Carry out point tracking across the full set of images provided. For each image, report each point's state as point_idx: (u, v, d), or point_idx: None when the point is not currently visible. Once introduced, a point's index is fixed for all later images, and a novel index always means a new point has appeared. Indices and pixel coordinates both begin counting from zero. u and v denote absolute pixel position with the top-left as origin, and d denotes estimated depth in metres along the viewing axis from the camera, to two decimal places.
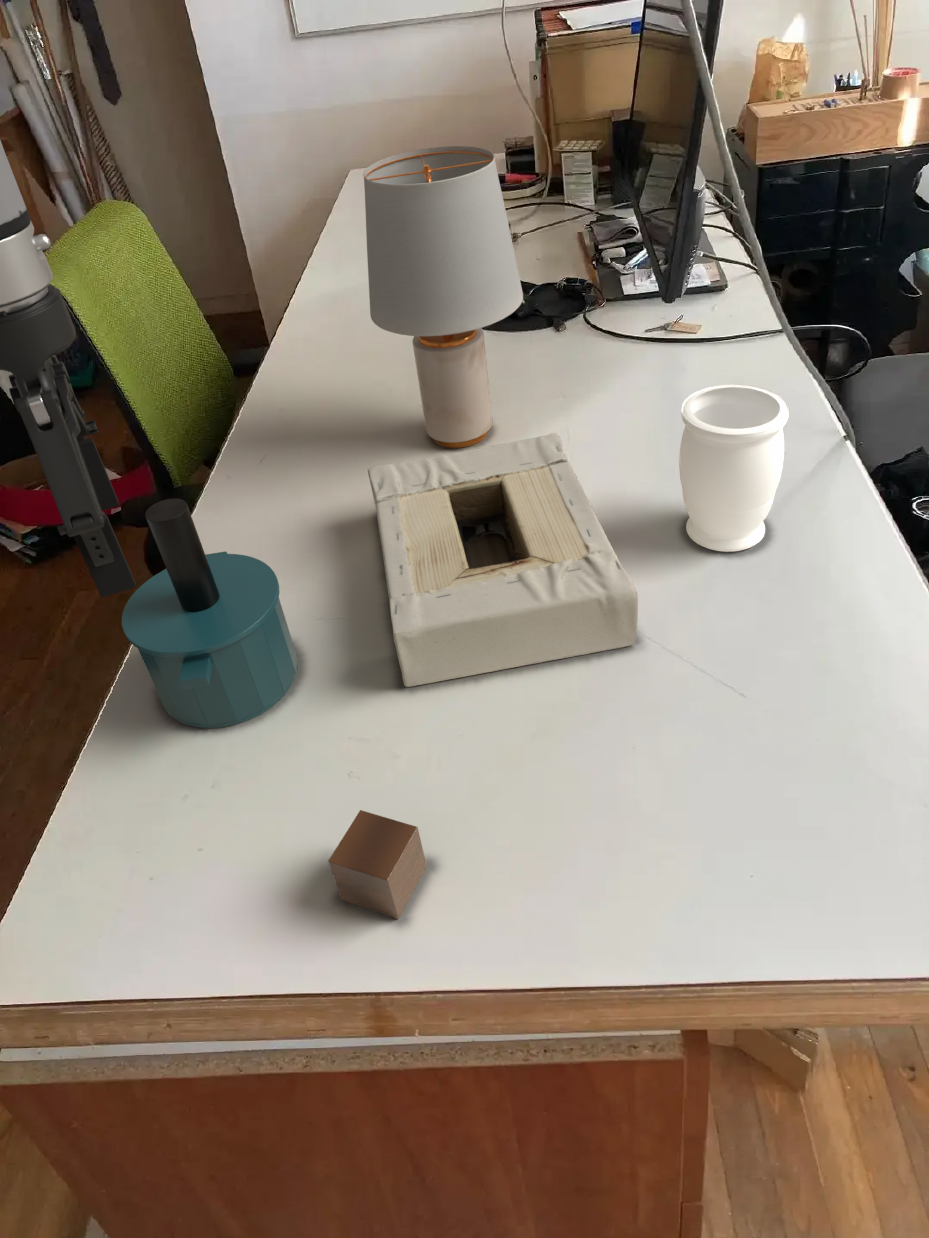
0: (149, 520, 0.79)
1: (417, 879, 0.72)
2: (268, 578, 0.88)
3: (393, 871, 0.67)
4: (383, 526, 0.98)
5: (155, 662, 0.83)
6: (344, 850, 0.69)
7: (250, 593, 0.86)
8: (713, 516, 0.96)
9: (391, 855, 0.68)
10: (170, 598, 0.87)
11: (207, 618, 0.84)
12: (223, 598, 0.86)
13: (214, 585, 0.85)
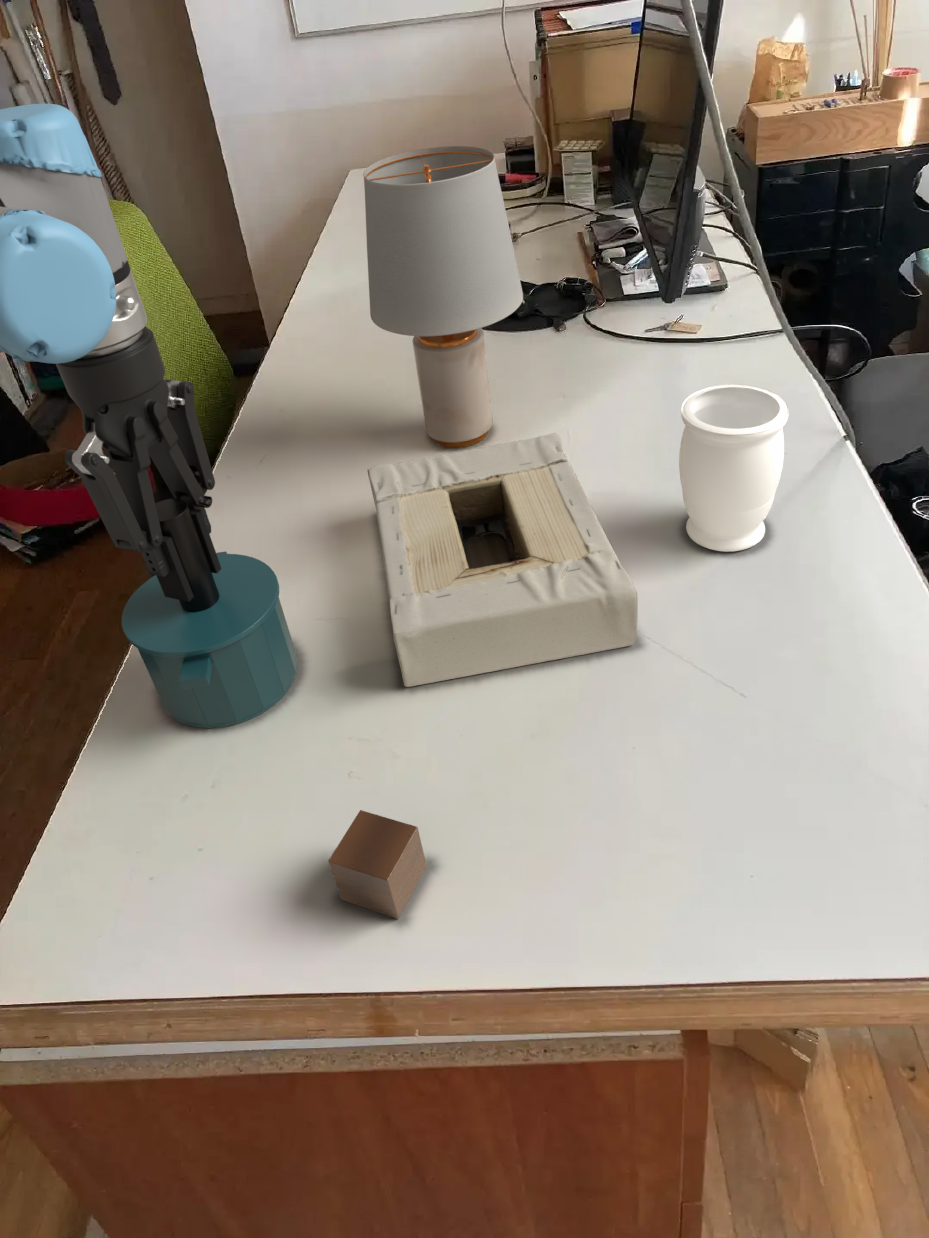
0: None
1: (417, 879, 0.72)
2: (268, 578, 0.88)
3: (393, 871, 0.67)
4: (383, 526, 0.98)
5: (155, 662, 0.83)
6: (344, 850, 0.69)
7: (250, 593, 0.86)
8: (713, 516, 0.96)
9: (391, 855, 0.68)
10: (170, 598, 0.87)
11: (207, 618, 0.84)
12: (223, 598, 0.86)
13: (214, 585, 0.85)
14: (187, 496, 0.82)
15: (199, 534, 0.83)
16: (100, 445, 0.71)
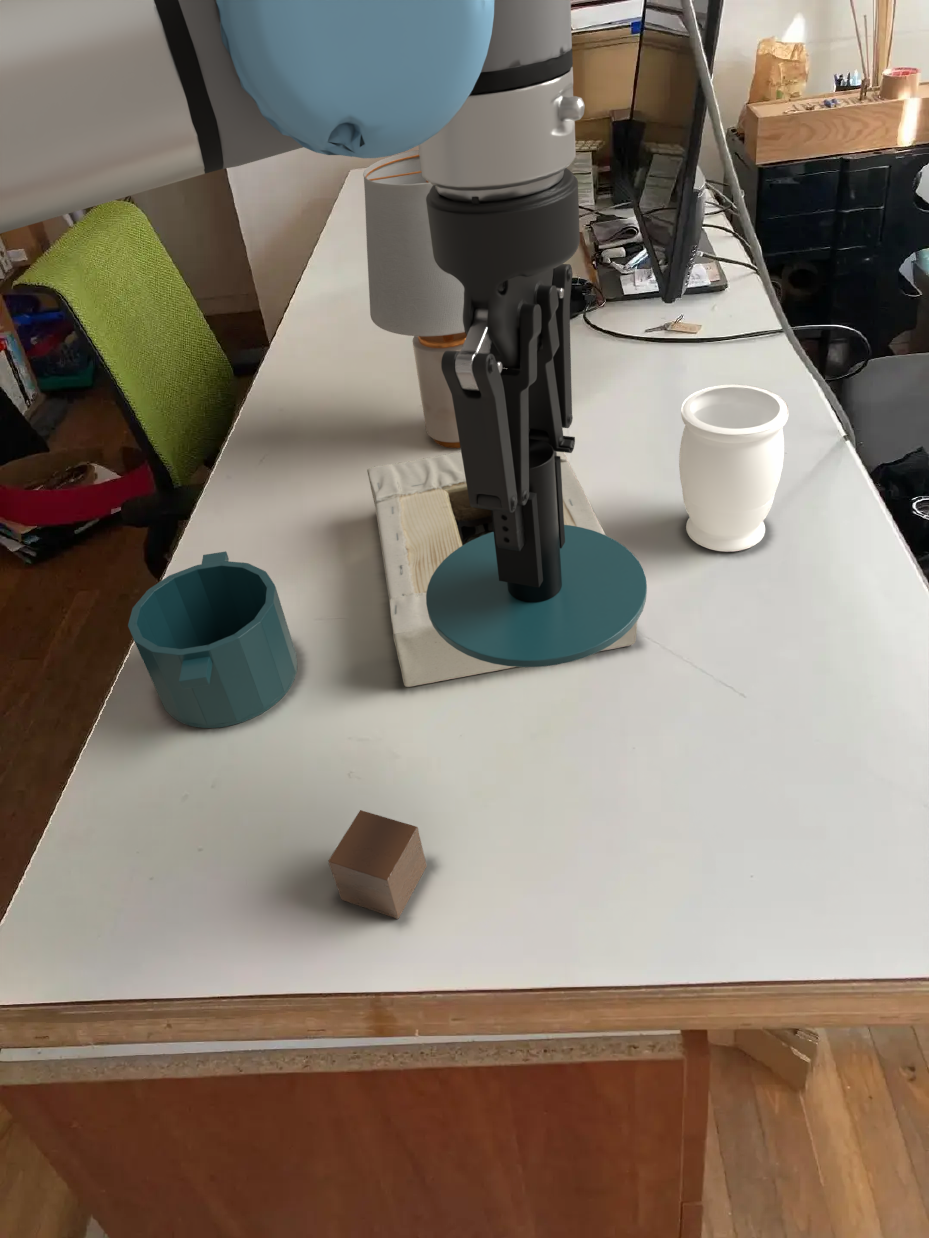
0: None
1: (417, 879, 0.72)
2: (621, 556, 0.63)
3: (393, 871, 0.67)
4: (382, 526, 0.98)
5: (155, 662, 0.83)
6: (344, 850, 0.69)
7: (605, 576, 0.61)
8: (713, 516, 0.96)
9: (391, 855, 0.68)
10: (489, 584, 0.62)
11: (557, 610, 0.59)
12: (569, 583, 0.61)
13: None
14: (541, 436, 0.57)
15: None
16: (489, 344, 0.47)
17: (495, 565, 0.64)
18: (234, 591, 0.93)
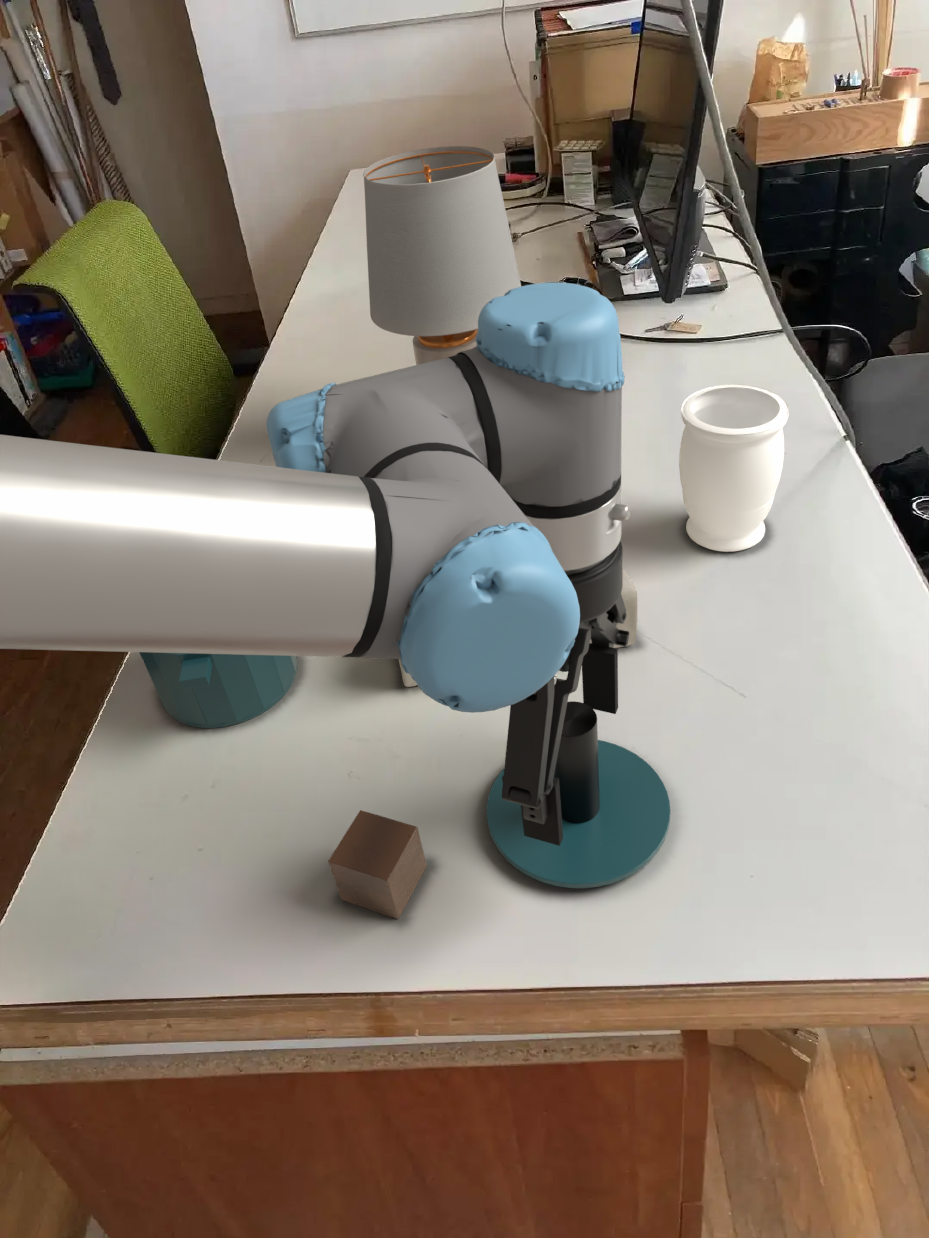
0: None
1: (417, 879, 0.72)
2: (649, 776, 0.76)
3: (393, 871, 0.67)
4: None
5: (155, 662, 0.83)
6: (344, 850, 0.69)
7: (635, 798, 0.74)
8: (713, 516, 0.96)
9: (391, 855, 0.68)
10: None
11: (597, 832, 0.72)
12: (606, 804, 0.74)
13: None
14: None
15: (609, 674, 0.73)
16: None
17: None
18: None
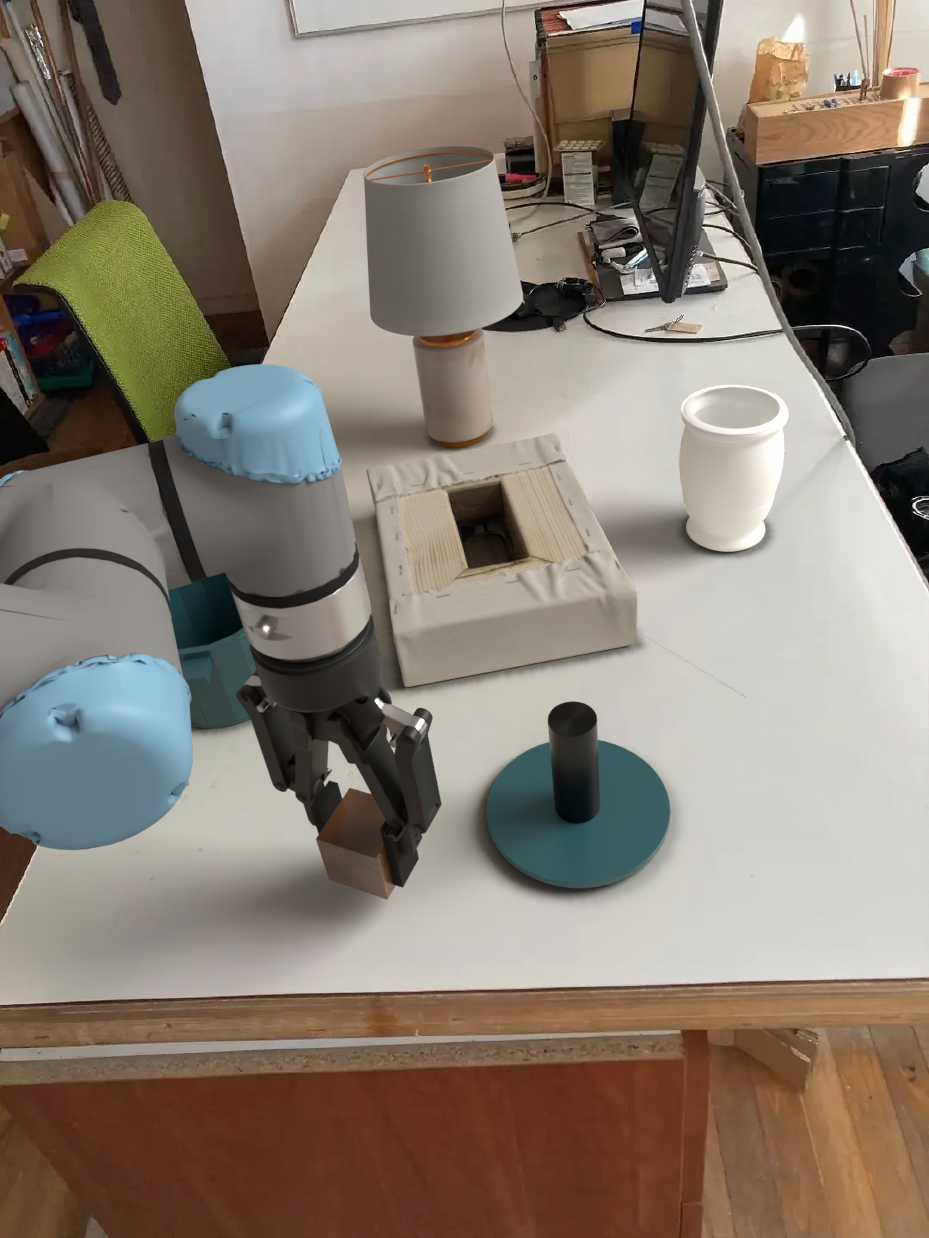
0: (558, 733, 0.67)
1: None
2: (649, 776, 0.76)
3: (382, 849, 0.65)
4: (382, 526, 0.98)
5: None
6: (333, 828, 0.67)
7: (635, 798, 0.74)
8: (713, 516, 0.96)
9: (380, 833, 0.66)
10: (538, 801, 0.75)
11: (597, 832, 0.72)
12: (606, 804, 0.74)
13: None
14: None
15: None
16: None
17: (543, 782, 0.77)
18: None
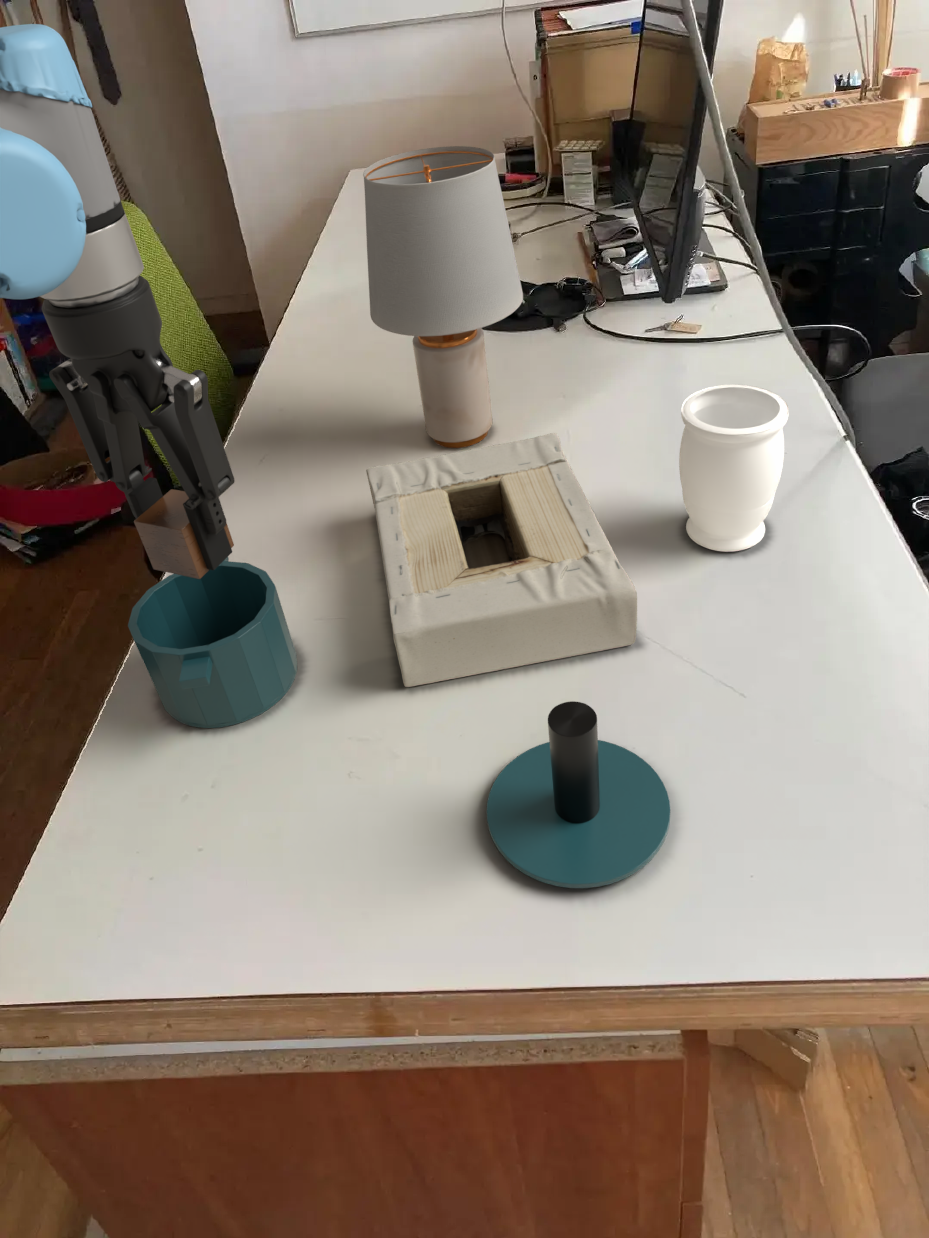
0: (558, 733, 0.67)
1: None
2: (649, 776, 0.76)
3: (188, 525, 0.75)
4: (382, 526, 0.98)
5: (155, 662, 0.83)
6: (150, 514, 0.77)
7: (635, 798, 0.74)
8: (713, 516, 0.96)
9: None
10: (538, 801, 0.75)
11: (597, 832, 0.72)
12: (606, 804, 0.74)
13: None
14: None
15: None
16: (78, 373, 0.71)
17: (543, 782, 0.77)
18: (234, 591, 0.93)
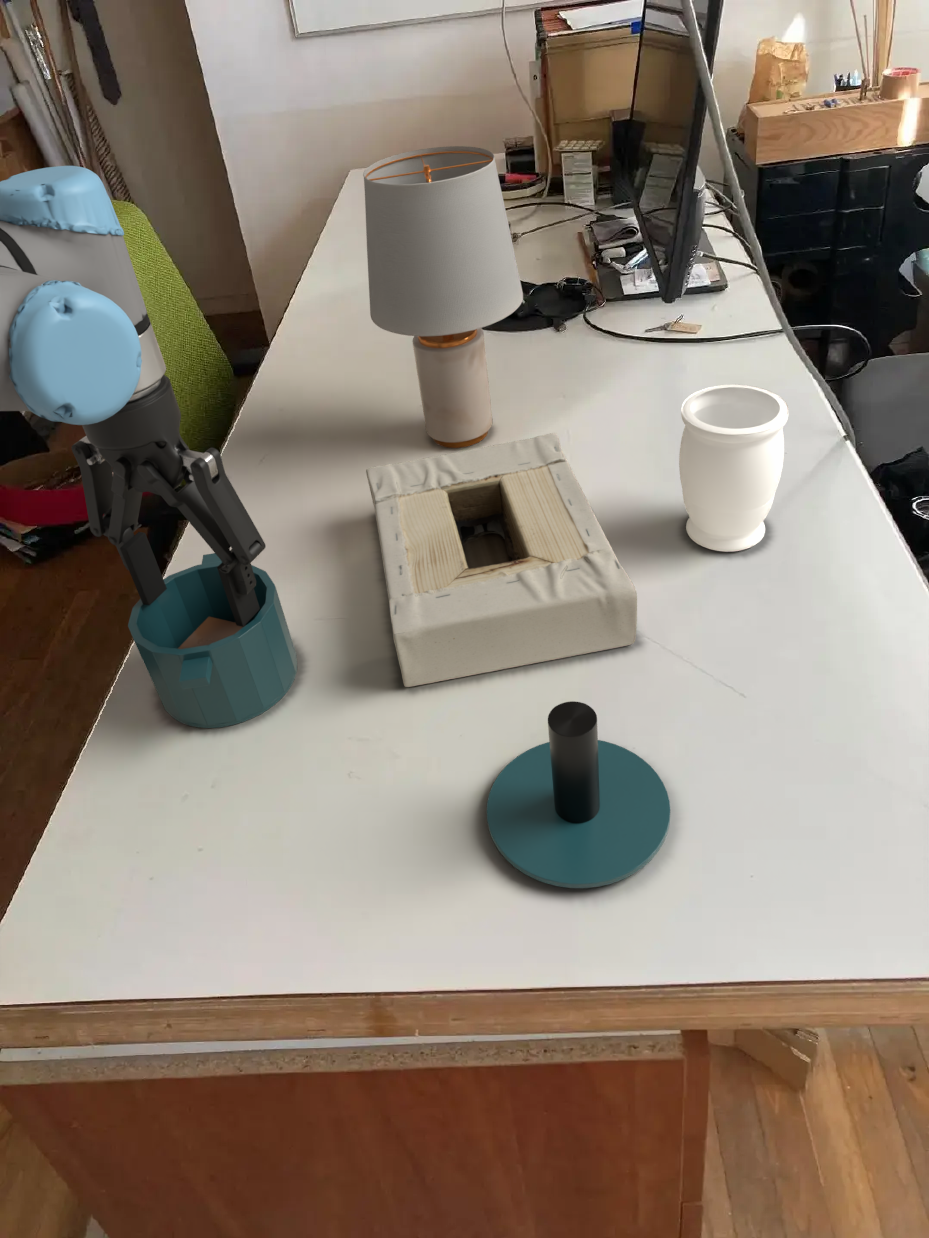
0: (558, 733, 0.67)
1: None
2: (649, 776, 0.76)
3: None
4: (382, 526, 0.98)
5: (155, 662, 0.83)
6: (191, 641, 0.89)
7: (635, 798, 0.74)
8: (713, 516, 0.96)
9: None
10: (538, 801, 0.75)
11: (597, 832, 0.72)
12: (606, 804, 0.74)
13: None
14: None
15: None
16: (100, 452, 0.78)
17: (543, 782, 0.77)
18: None
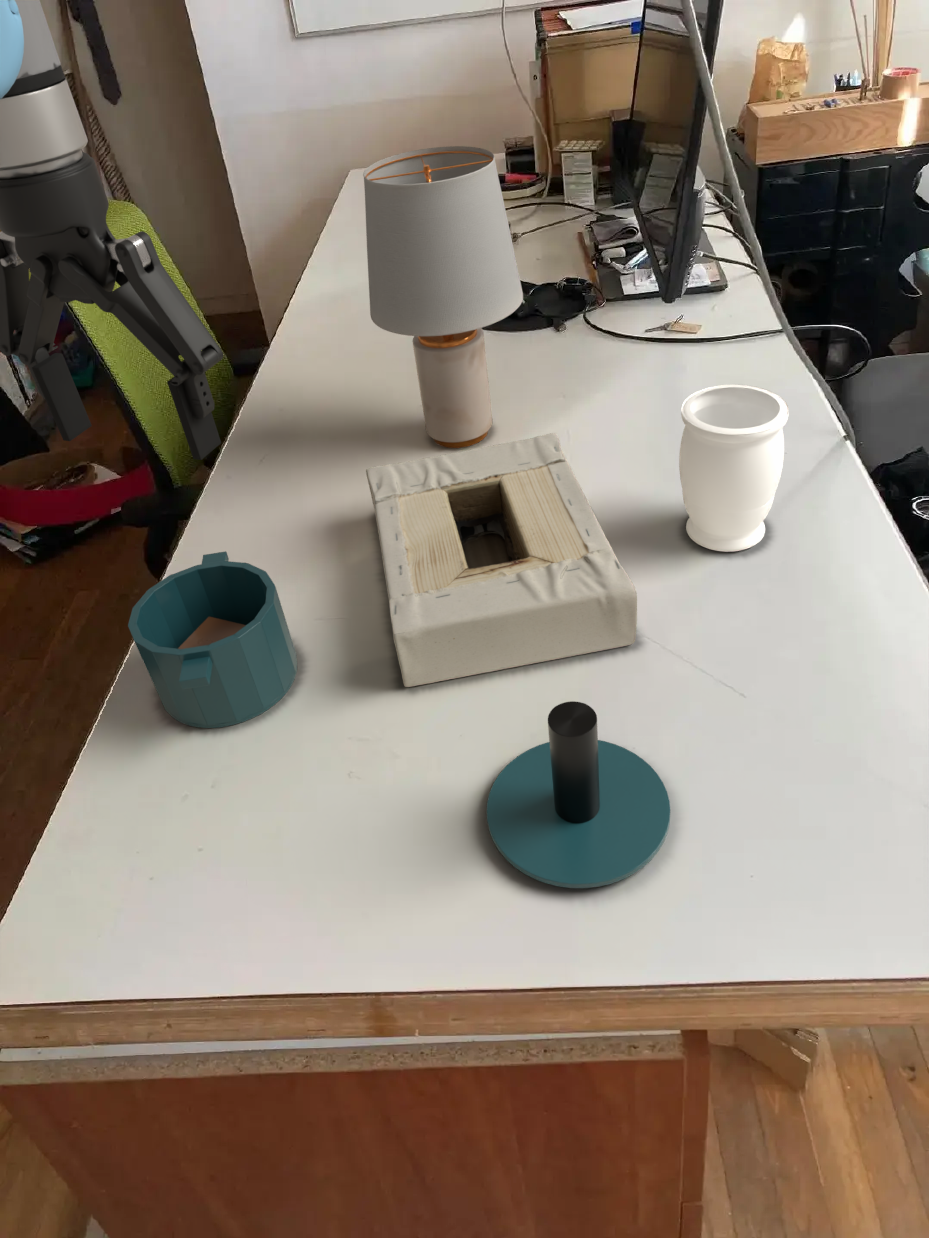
0: (558, 733, 0.67)
1: None
2: (649, 776, 0.76)
3: None
4: (382, 526, 0.98)
5: (155, 662, 0.83)
6: (191, 641, 0.89)
7: (635, 798, 0.74)
8: (713, 516, 0.96)
9: None
10: (538, 801, 0.75)
11: (597, 832, 0.72)
12: (606, 804, 0.74)
13: None
14: None
15: None
16: (17, 252, 0.67)
17: (543, 782, 0.77)
18: (234, 591, 0.93)
